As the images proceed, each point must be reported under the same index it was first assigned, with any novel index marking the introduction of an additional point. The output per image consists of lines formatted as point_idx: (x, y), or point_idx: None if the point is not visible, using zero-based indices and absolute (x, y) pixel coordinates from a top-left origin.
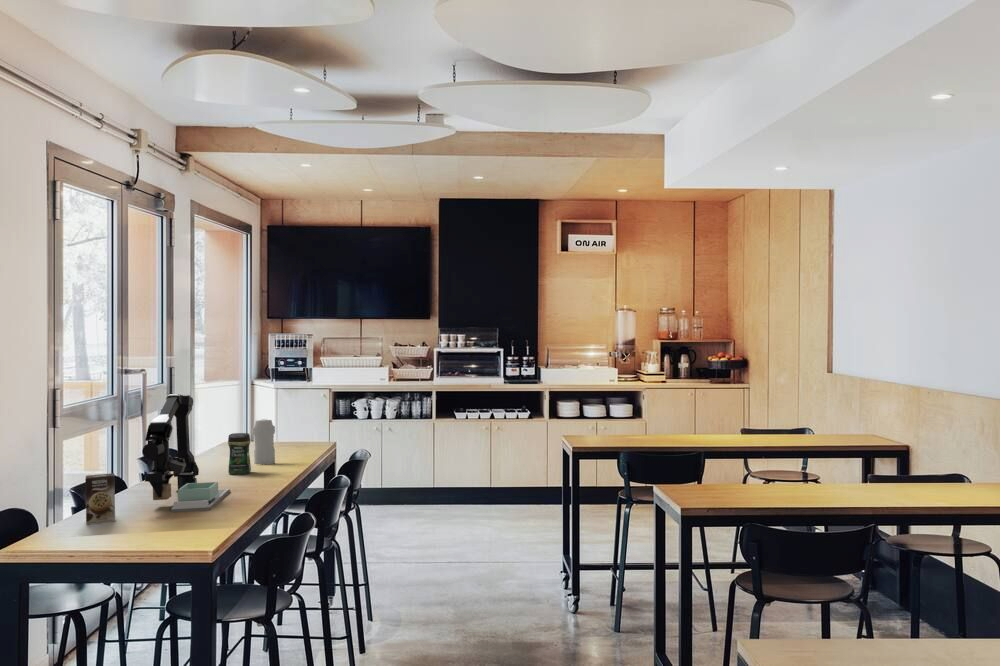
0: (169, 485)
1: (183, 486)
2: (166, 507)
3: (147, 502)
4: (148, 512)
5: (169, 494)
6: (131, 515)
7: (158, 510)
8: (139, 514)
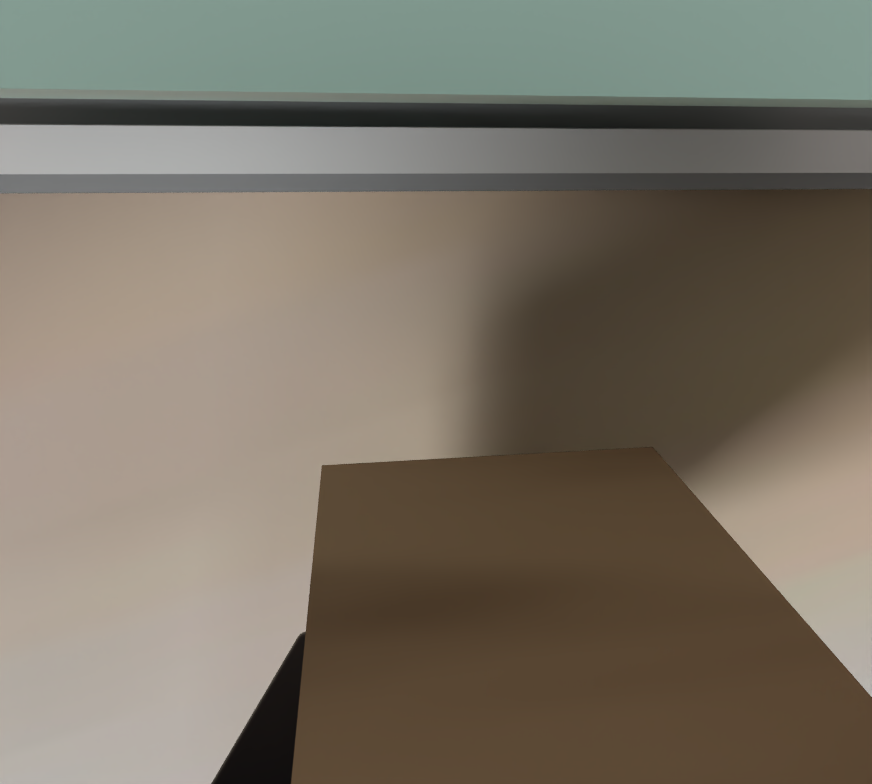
0: (520, 768)
1: (559, 16)
2: (554, 390)
3: (128, 766)
4: (800, 534)
5: (483, 507)
6: (862, 658)
7: (734, 443)
8: (860, 597)
